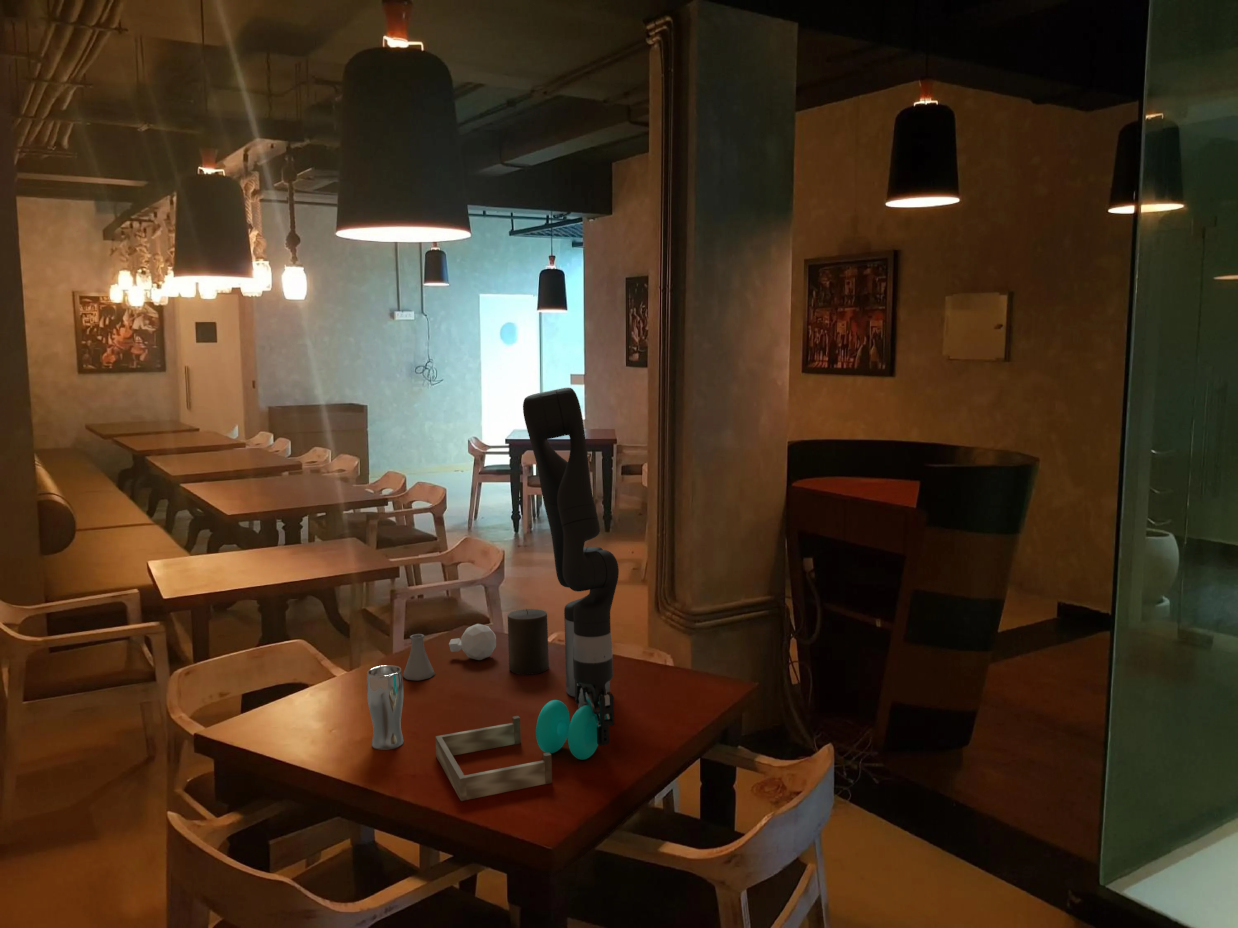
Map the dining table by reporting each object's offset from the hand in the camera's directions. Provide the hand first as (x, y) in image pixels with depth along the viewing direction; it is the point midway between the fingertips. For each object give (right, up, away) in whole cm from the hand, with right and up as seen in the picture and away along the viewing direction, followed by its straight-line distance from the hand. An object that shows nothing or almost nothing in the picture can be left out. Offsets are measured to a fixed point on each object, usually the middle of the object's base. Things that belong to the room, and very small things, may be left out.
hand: (594, 736), depth 182 cm
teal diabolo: (-5, -3, -2) cm, 6 cm away
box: (-19, -4, -8) cm, 21 cm away
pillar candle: (-17, +2, +48) cm, 51 cm away
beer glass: (-41, -3, +5) cm, 41 cm away
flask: (-43, +1, +44) cm, 62 cm away
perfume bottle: (-32, +3, +57) cm, 66 cm away
